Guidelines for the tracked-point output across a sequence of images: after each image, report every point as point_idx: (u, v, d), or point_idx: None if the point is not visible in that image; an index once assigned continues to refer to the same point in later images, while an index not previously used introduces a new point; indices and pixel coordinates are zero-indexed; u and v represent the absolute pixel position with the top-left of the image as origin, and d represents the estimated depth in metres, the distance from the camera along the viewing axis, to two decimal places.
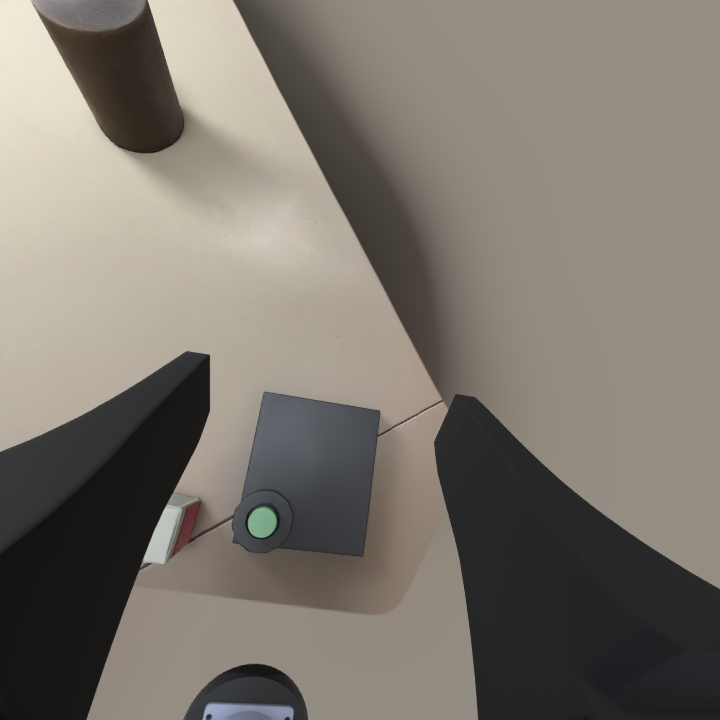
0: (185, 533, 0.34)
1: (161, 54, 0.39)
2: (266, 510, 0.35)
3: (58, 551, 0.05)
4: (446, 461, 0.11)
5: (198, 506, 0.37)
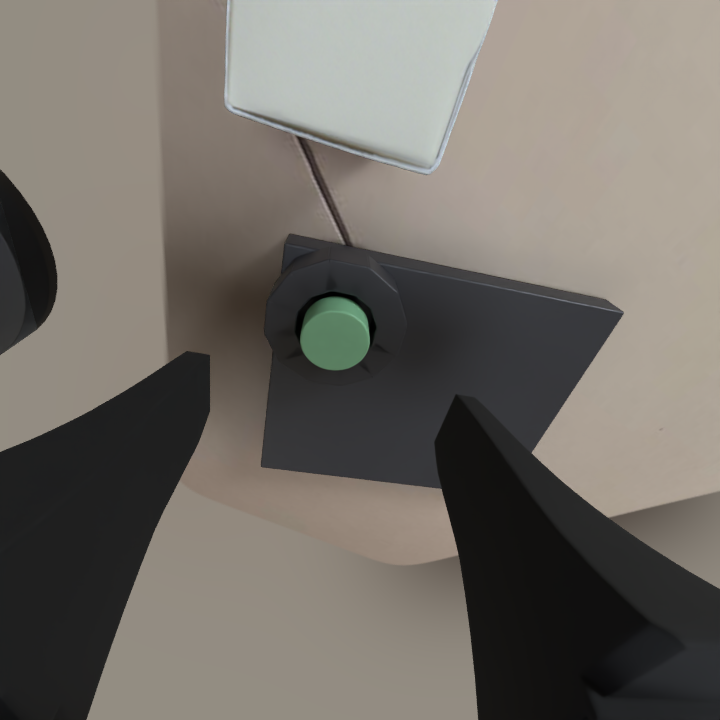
0: None
1: None
2: (362, 350, 0.14)
3: (58, 551, 0.05)
4: (445, 461, 0.11)
5: None
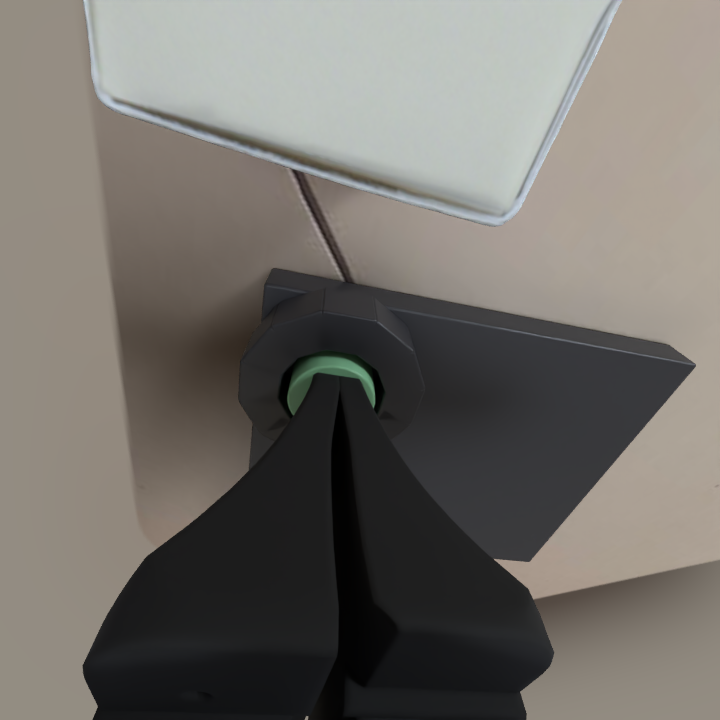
0: None
1: None
2: None
3: None
4: None
5: None
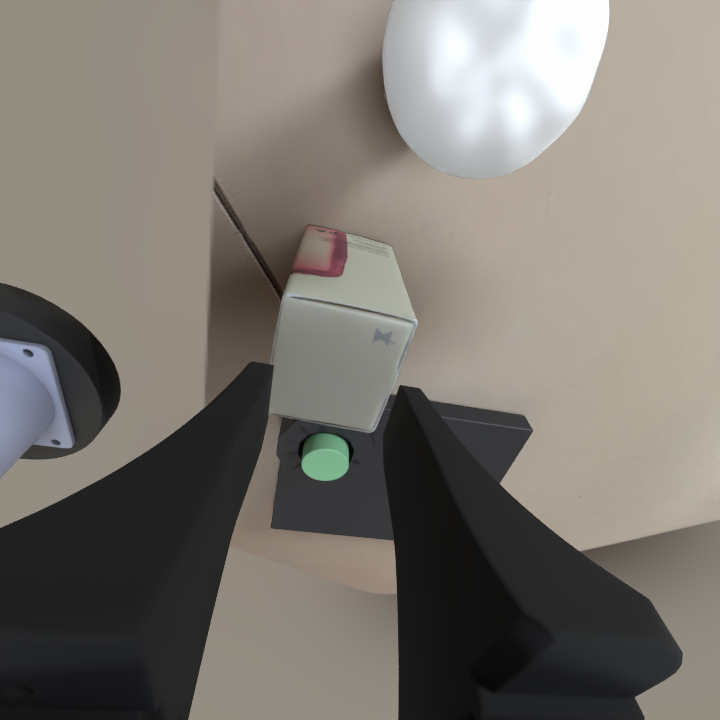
0: None
1: None
2: (344, 469, 0.21)
3: (195, 562, 0.05)
4: (389, 454, 0.11)
5: None
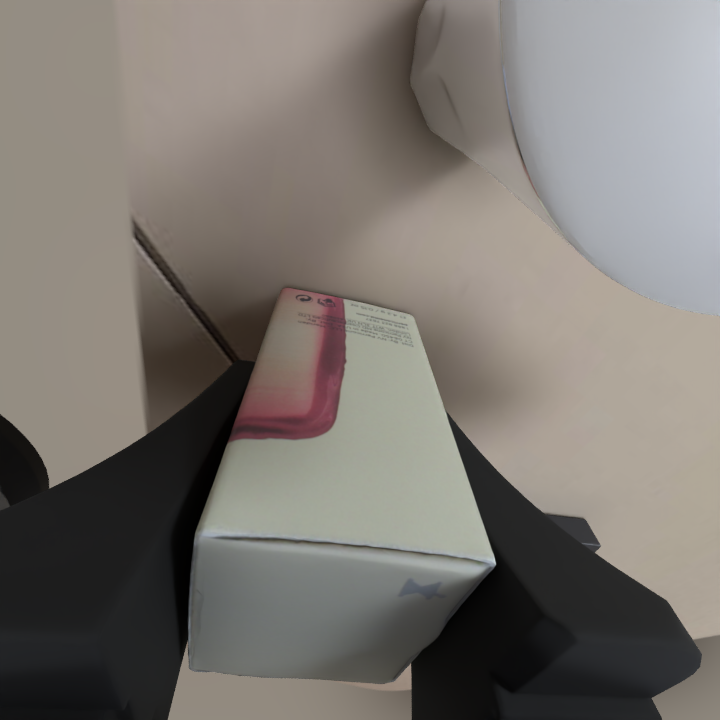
0: None
1: None
2: None
3: (167, 560, 0.05)
4: None
5: None
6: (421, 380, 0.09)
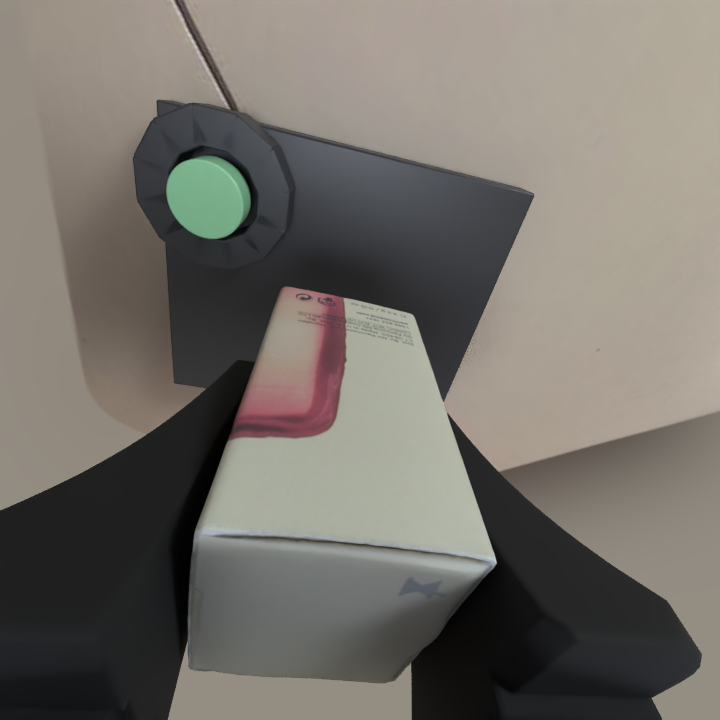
0: None
1: None
2: (237, 213, 0.13)
3: (168, 560, 0.05)
4: None
5: None
6: (421, 379, 0.09)
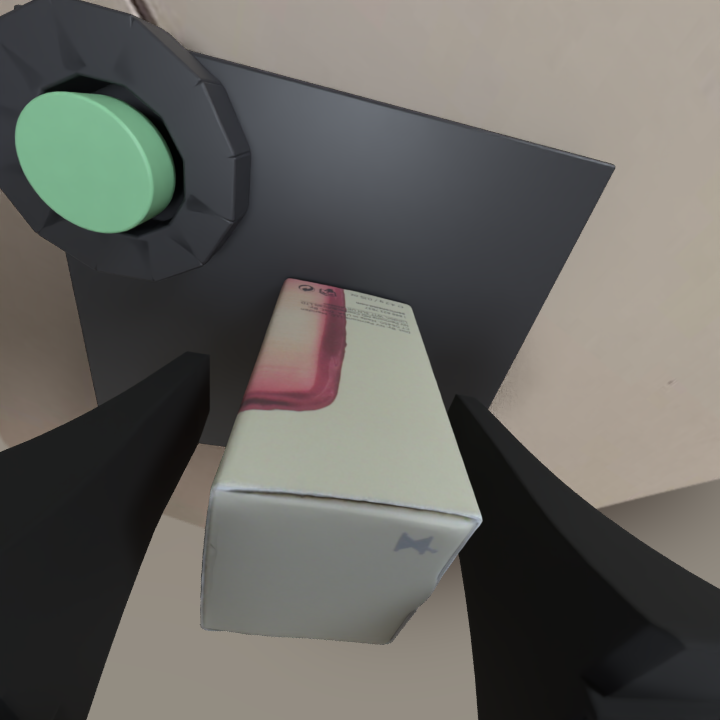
0: None
1: None
2: (143, 189, 0.08)
3: (59, 552, 0.05)
4: None
5: None
6: (417, 363, 0.09)
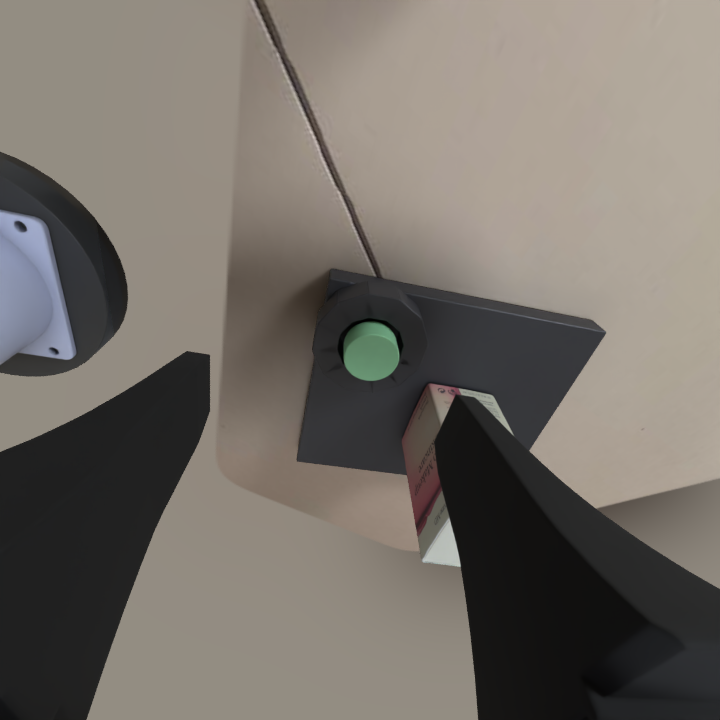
0: None
1: None
2: (393, 365, 0.18)
3: (58, 551, 0.05)
4: (445, 461, 0.11)
5: None
6: None
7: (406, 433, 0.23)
